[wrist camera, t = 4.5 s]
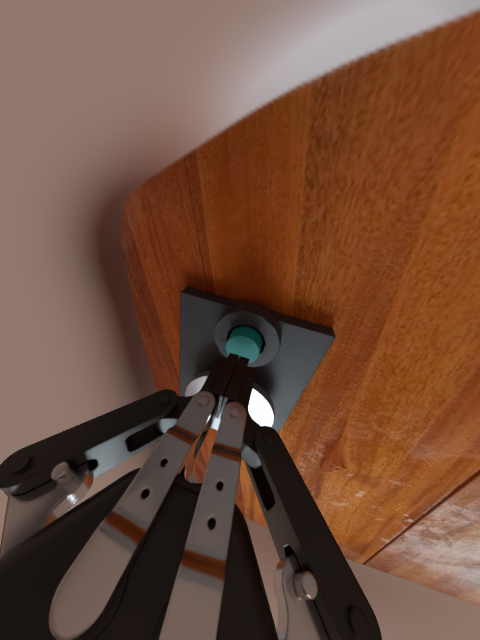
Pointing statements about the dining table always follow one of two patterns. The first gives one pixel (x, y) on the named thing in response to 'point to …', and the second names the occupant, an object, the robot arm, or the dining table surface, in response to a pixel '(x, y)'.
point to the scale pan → (258, 405)
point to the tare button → (244, 343)
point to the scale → (276, 351)
